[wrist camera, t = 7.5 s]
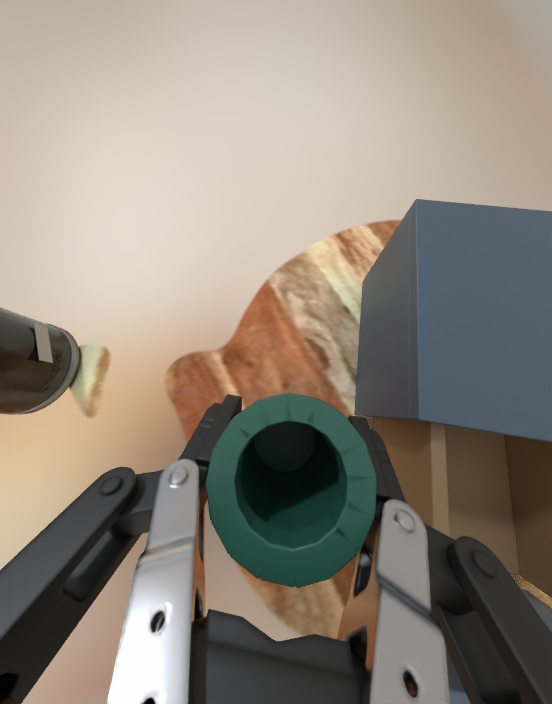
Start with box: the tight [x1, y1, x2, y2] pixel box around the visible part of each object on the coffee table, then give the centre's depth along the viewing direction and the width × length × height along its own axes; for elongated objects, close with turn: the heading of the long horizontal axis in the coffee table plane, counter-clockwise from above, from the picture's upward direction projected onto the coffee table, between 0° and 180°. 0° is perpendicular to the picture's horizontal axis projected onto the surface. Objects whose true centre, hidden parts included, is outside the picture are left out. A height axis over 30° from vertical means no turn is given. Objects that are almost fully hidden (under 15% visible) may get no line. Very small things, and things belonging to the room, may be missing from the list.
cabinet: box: [355, 199, 552, 443], centre depth 16 cm, size 15×14×10 cm
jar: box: [206, 393, 377, 588], centre depth 11 cm, size 6×6×10 cm
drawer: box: [373, 416, 552, 704], centre depth 13 cm, size 18×12×8 cm
